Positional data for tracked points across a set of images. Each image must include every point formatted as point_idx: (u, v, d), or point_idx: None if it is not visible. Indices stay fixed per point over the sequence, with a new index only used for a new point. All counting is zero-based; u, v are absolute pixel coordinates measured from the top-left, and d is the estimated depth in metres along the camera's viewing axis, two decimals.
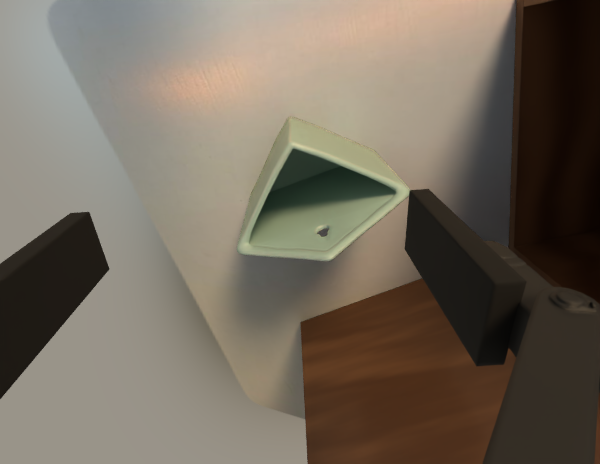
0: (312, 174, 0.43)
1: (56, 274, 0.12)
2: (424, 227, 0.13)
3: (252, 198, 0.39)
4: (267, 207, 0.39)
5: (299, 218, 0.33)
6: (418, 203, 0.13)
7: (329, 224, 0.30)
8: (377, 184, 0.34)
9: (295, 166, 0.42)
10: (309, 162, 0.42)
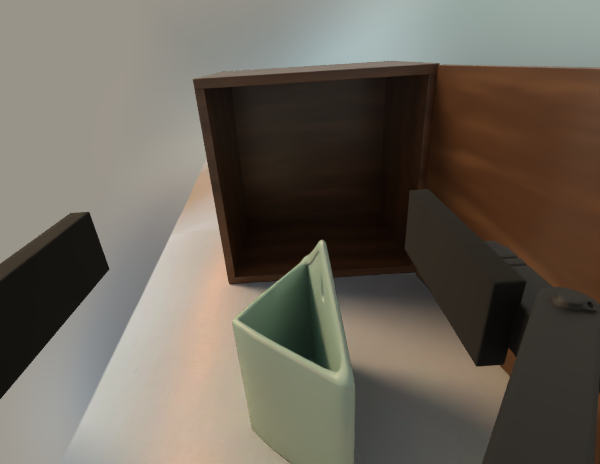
0: None
1: (56, 274, 0.12)
2: (424, 227, 0.13)
3: (323, 449, 0.27)
4: None
5: (328, 343, 0.29)
6: (418, 203, 0.13)
7: (320, 293, 0.29)
8: (311, 299, 0.36)
9: None
10: None
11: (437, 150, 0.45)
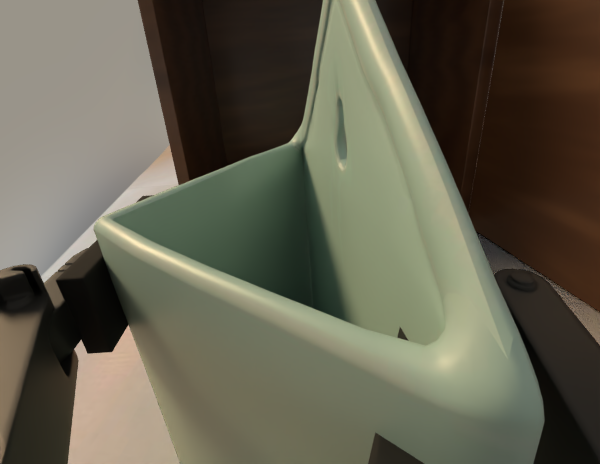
0: None
1: None
2: None
3: None
4: None
5: (358, 282, 0.10)
6: None
7: (334, 155, 0.11)
8: (311, 220, 0.18)
9: None
10: None
11: None
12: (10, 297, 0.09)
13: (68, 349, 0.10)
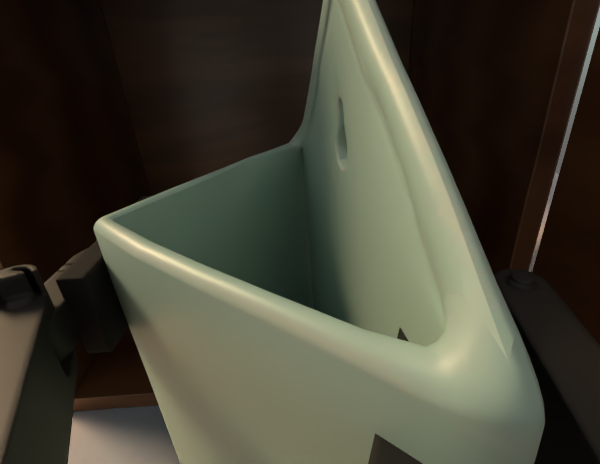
0: None
1: None
2: None
3: None
4: None
5: (358, 282, 0.10)
6: None
7: (335, 155, 0.11)
8: (311, 220, 0.18)
9: None
10: None
11: None
12: (10, 297, 0.09)
13: (68, 349, 0.10)
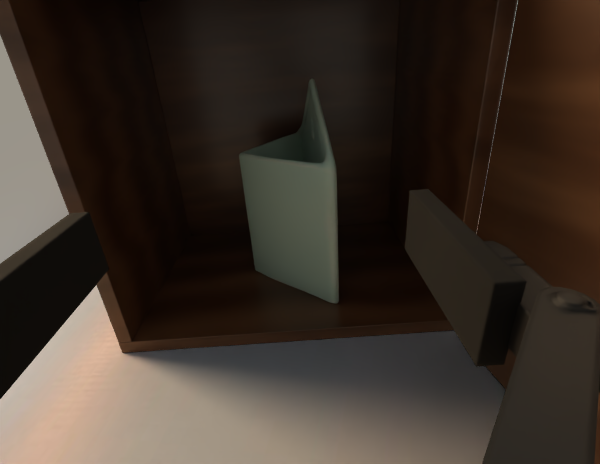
0: None
1: (56, 274, 0.12)
2: (424, 227, 0.13)
3: (313, 250, 0.33)
4: None
5: None
6: (418, 203, 0.13)
7: (311, 135, 0.36)
8: None
9: None
10: None
11: (526, 89, 0.20)
12: None
13: None
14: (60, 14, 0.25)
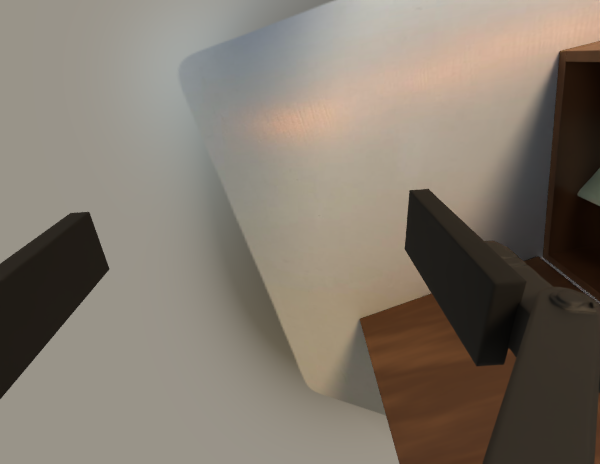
0: None
1: (56, 274, 0.12)
2: (424, 227, 0.13)
3: None
4: None
5: None
6: (418, 203, 0.13)
7: None
8: None
9: None
10: None
11: None
12: None
13: None
14: None
